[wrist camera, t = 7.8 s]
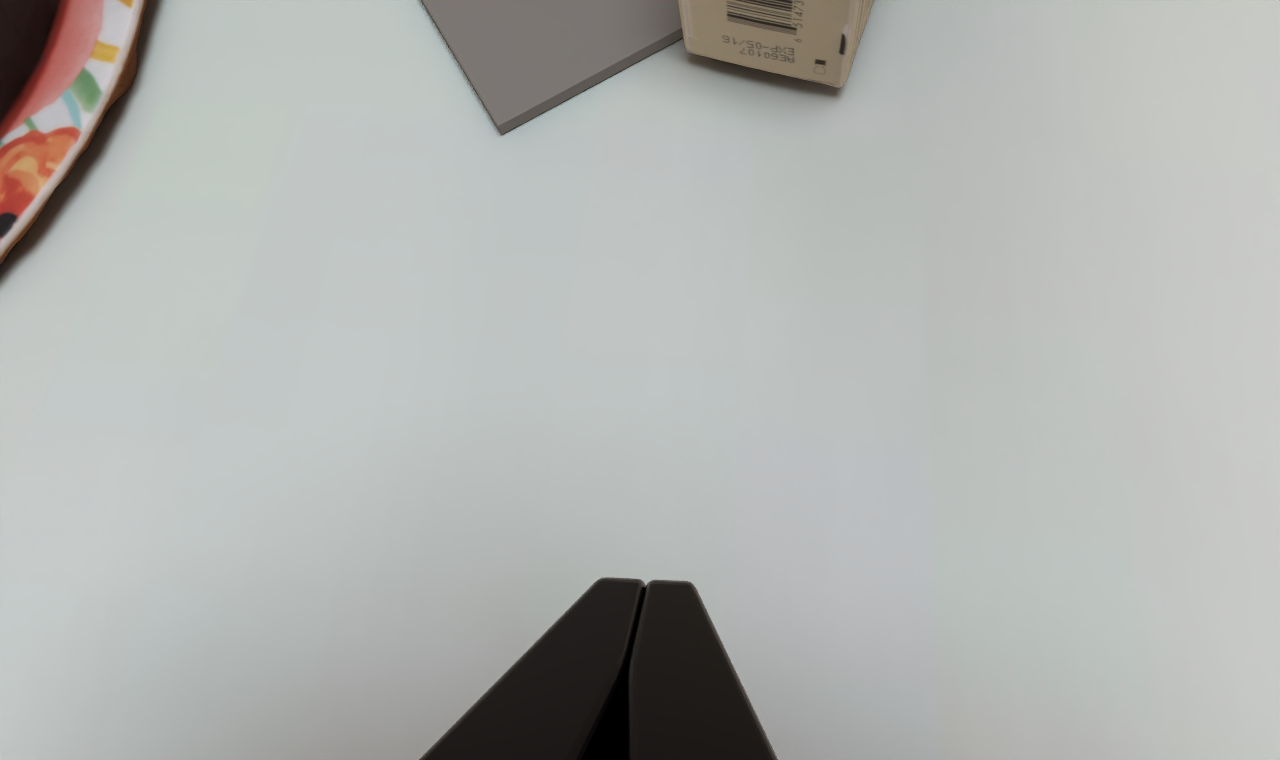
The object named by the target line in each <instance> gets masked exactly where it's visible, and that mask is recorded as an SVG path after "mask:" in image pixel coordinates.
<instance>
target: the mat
mask: <svg viewBox="0 0 1280 760" xmlns="http://www.w3.org/2000/svg"><path fill="white" fill-rule="evenodd" d="M421 1H422V3H423V4H424V6H425V8H426V9H427V11H428V13H429V14H430V16H431V18H432V19H433V21H434V23H435V24H436V26H437V28H438V29H439V31H440V33H441V34H442V36H443V38H444V39H445V41H446V43H447V44H448V46H449V48H450V49H451V51H452V53H453V54H454V56H455V58H456V59H457V61H458V63H459V64H460V66H461V68H462V69H463V71H464V73H465V75H466V76H467V78H468V80H469V81H470V83H471V85H472V86H473V88H474V90H475V91H476V93H477V95H478V96H479V98H480V100H481V101H482V103H483V105H484V106H485V108H486V110H487V111H488V113H489V115H490V116H491V118H492V120H493V121H494V123H495V125H496V126H497V128H498V130H499V131H500V133H501V135H502V134H504V133H506V132H508V131H510V130H512V129H513V128H515V127H517V126H519V125H521V124H523V123H525V122H526V121H528V120H530V119H532V118H534V117H536V116H538V115H539V114H541V113H543V112H545V111H547V110H549V109H551V108H553V107H554V106H556V105H558V104H560V103H562V102H564V101H566V100H567V99H569V98H571V97H573V96H575V95H577V94H579V93H580V92H582V91H584V90H586V89H588V88H590V87H592V86H593V85H595V84H597V83H599V82H601V81H603V80H605V79H607V78H608V77H610V76H612V75H614V74H616V73H618V72H620V71H621V70H623V69H625V68H627V67H629V66H631V65H633V64H634V63H636V62H638V61H640V60H642V59H644V58H646V57H647V56H649V55H651V54H653V53H655V52H657V51H659V50H661V49H662V48H664V47H666V46H668V45H670V44H672V43H674V42H675V41H677V40H679V39H681V38H683V30H682V24H681V17H680V10H679V2H678V0H421Z"/></svg>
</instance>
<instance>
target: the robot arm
mask: <svg viewBox="0 0 1280 760" xmlns="http://www.w3.org/2000/svg"><path fill="white" fill-rule="evenodd" d="M419 760H778V759H777V757H776V755H775V753H774V751H773V749H772V747H771V744H770V742H769V740H768V738H767V736H766V734H765V732H764V730H763V728H762V726H761V723H760V721H759V719H758V717H757V715H756V713H755V711H754V709H753V707H752V705H751V703H750V700H749V698H748V696H747V694H746V692H745V690H744V688H743V686H742V684H741V682H740V679H739V677H738V675H737V673H736V671H735V669H734V667H733V665H732V663H731V661H730V658H729V656H728V654H727V652H726V650H725V648H724V646H723V644H722V642H721V640H720V638H719V635H718V633H717V631H716V629H715V627H714V625H713V623H712V621H711V619H710V617H709V614H708V612H707V610H706V608H705V606H704V604H703V602H702V600H701V598H700V596H699V593H698V591H697V589H696V588H695V586H694V585H693V584H692V583H691V582H688V581H671V580H652V581H650V582H649V583H648V584H647V585H645V583H644V582H643V581H642V580H640V579H629V578H609V577H606V578H601V579H599V580H597V581H596V582H595V583H594V584H593V585H592V586H591V587H590V588H589V589H588V590H587V591H586V592H585V593H584V594H583V595H582V596H581V597H580V598H579V599H578V600H577V601H576V602H575V603H574V604H573V605H572V606H571V607H570V608H569V609H568V610H567V611H566V612H565V613H564V614H563V615H562V616H561V617H560V618H559V619H558V620H557V621H556V622H555V623H554V624H553V625H552V626H551V627H550V628H549V629H548V630H547V631H546V632H545V633H544V634H543V636H542V637H541V638H540V639H539V640H538V641H537V642H536V643H535V644H534V645H533V646H532V647H531V648H530V649H529V650H528V651H527V652H526V653H525V654H524V655H523V656H522V657H521V658H520V659H519V660H518V661H517V662H516V663H515V664H514V665H513V666H512V667H511V668H510V669H509V670H508V671H507V672H506V673H505V674H504V675H503V676H502V677H501V678H500V679H499V680H498V681H497V682H496V683H495V684H494V685H493V686H492V687H491V688H490V689H489V690H488V691H487V692H486V693H485V694H484V695H483V696H482V697H481V698H480V699H479V700H478V701H477V702H476V703H475V704H474V705H473V706H472V707H471V708H470V709H469V710H468V711H467V712H466V713H465V714H464V715H463V716H462V717H461V718H460V719H459V720H458V721H457V722H456V723H455V724H454V725H453V726H452V727H451V728H450V729H449V730H448V731H447V732H446V733H445V734H444V735H443V736H442V737H441V738H440V739H439V740H438V741H437V742H436V743H435V744H434V745H433V746H432V747H431V748H430V749H429V750H428V751H427V752H426V753H425V754H424V755H423V756H422V757H421V758H420V759H419Z"/></svg>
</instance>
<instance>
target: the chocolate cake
mask: <svg viewBox="0 0 1280 760" xmlns="http://www.w3.org/2000/svg"><path fill="white" fill-rule="evenodd" d="M147 1H148V0H0V265H1V264H2V262H3V261H4V259H5V258H6V256H7V255H8V253H9V252H10V251H11V249H12V248H13V246H14V245H15V244H16V243H17V242H18V241H20V239H21V238H22V237H23V236H24V234H25V233H26V232H27V231H28V230H29V228H30V227H31V226H32V225H33V223H34V222H35V220H36V219H37V217H38V216H39V214H40V213H41V211H42V210H43V208H44V206H45V205H46V203H47V202H48V200H49V199H50V197H51V195H52V193H53V191H54V189H55V188H56V187H57V186H58V185H59V184H60V183H61V182H62V181H63V180H64V178H65V177H66V176H67V175H68V174H69V173H70V171H71V170H72V168H73V166H74V165H75V163H76V161H77V160H78V158H79V156H80V155H81V154H82V153H83V152H84V150H85V149H86V148H87V147H88V146H89V144H90V143H91V142H92V141H93V137H94V133H95V131H96V129H97V128H98V126H99V125H100V123H101V121H102V119H103V117H104V115H105V113H106V112H107V110H108V109H109V107H110V106H111V105H112V104H113V103H114V102H115V101H116V100H117V99H118V98H119V97H120V96H121V95H123V94H124V93H125V92H127V91H128V89H129V88H130V86H131V85H132V83H133V81H134V78H135V76H136V72H137V67H138V58H137V49H136V47H137V43H138V38H139V34H140V29H141V24H142V20H143V16H144V12H145V8H146V5H147Z"/></svg>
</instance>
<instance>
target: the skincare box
mask: <svg viewBox="0 0 1280 760" xmlns="http://www.w3.org/2000/svg"><path fill="white" fill-rule="evenodd" d="M873 1H874V0H678V2H679V10H680V17H681V24H682V30H683V38H684V44H685V49H686V51H687V52H689V53H692V54H695V55H700V56H705V57H709V58H713V59H717V60H721V61H725V62H730V63H734V64H738V65H742V66H746V67H751V68H755V69H760V70H764V71H768V72H772V73H777V74H781V75H786V76H790V77H795V78H800V79H804V80H808V81H813V82H818V83H822V84H827V85H830V86H834V87H837V88H838V87H842V86H844V84H845V83H846V80H847V77H848V74H849V71H850V68H851V65H852V62H853V59H854V56H855V53H856V50H857V47H858V44H859V41H860V38H861V35H862V33H863V30H864V27H865V24H866V21H867V18H868V15H869V12H870V9H871V6H872V4H873Z"/></svg>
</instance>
